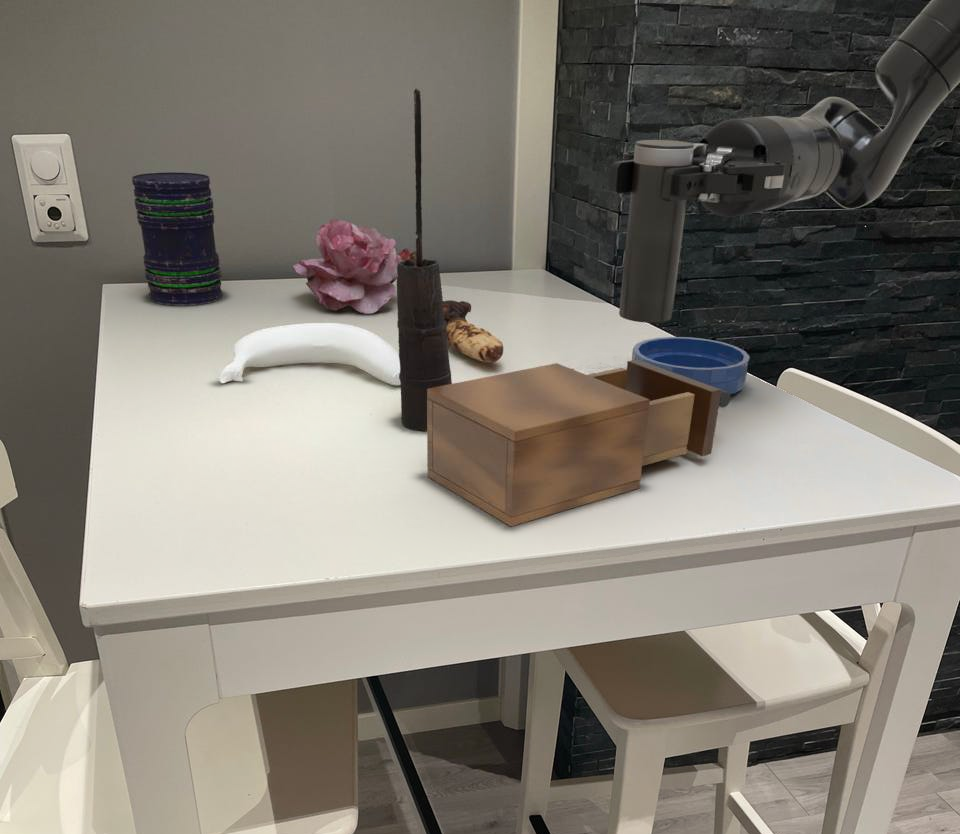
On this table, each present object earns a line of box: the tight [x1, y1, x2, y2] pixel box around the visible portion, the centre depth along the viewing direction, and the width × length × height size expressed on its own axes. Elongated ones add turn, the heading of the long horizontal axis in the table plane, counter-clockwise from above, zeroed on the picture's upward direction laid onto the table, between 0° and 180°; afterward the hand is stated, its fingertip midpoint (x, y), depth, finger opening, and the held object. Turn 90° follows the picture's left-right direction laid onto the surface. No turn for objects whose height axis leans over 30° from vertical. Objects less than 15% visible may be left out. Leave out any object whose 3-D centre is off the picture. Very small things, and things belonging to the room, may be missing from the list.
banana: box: [218, 322, 401, 386], centre depth 103 cm, size 5×19×15 cm
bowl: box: [631, 336, 751, 395], centre depth 104 cm, size 12×12×4 cm
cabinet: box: [426, 362, 650, 527], centre depth 79 cm, size 14×12×8 cm
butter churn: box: [396, 88, 453, 432], centre depth 87 cm, size 9×10×28 cm
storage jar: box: [131, 171, 223, 307], centre depth 129 cm, size 10×10×15 cm
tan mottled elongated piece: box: [443, 299, 504, 363], centre depth 112 cm, size 9×5×18 cm
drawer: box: [587, 359, 732, 467], centre depth 85 cm, size 17×10×6 cm, turn 126°
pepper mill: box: [618, 139, 695, 324], centre depth 78 cm, size 4×4×13 cm
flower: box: [292, 218, 411, 315], centre depth 130 cm, size 15×15×10 cm
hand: (640, 181), depth 74 cm, fingers closed on pepper mill, 4 cm apart
